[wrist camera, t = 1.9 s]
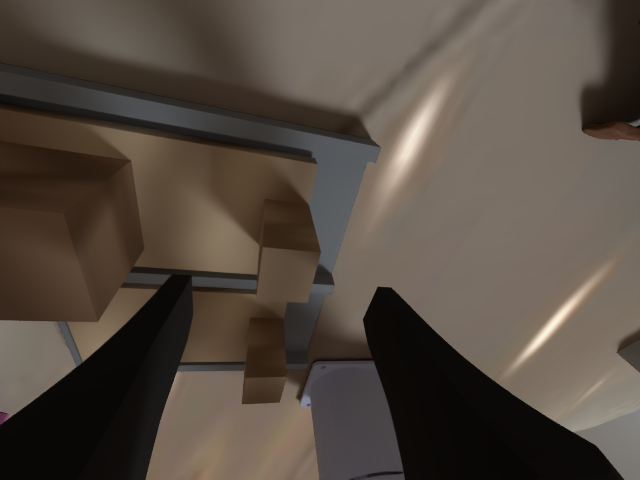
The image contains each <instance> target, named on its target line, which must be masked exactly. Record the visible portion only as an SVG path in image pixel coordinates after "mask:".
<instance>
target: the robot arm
mask: <svg viewBox="0 0 640 480" xmlns="http://www.w3.org/2000/svg"><path fill="white" fill-rule="evenodd" d="M192 318H193V293H192V275H179V274H172V275H171V276H170V277H169V278H168V279H167V280H166V281H165V282H164V284H163V285H162V286H161V287H160V288H159V289H158V290H157V291H156V293H155V294H154V295H153V296H152V297H151V298H150V299H149V300H148V301H147V302H146V303H145V304H144V305H143V306H142V307H141V308H140V309H139V310H138V312H137V313H136V314H135V315H134V316H133V317H132V318H131V319H130V320H129V321H128V322H127V323H126V324H125V325H123V326H122V327H121V328H120V329H119V330H118V331H117V332H116V333H115V334H114V335H113V336H112V337H111V338H109V339H108V340H107V341H106V342H105V343H104V344H103V345H102V346H101V347H100V348H98V349H97V350H96V351H95V352H94V353H93V354H92V355H90V356H89V357H88V358H87V359H86V360H85V361H83V362H82V363H81V364H80V365H79V366H77V367H76V368H75V369H74V370H72V371H71V372H70V373H69V374H67V375H66V376H65V377H64V378H62V379H61V380H60V381H59V382H57V383H56V384H55V385H53V386H52V387H51V388H49V389H48V390H47V391H45V392H44V393H43V394H41V395H40V396H39V397H38V398H36V399H35V400H34V401H32V402H31V403H30V404H28V405H27V406H26V407H24V408H23V409H21V410H20V411H19V412H17V413H16V414H14V415H13V416H12V417H10V418H9V419H7V420H6V421H5V422H3V423H2V424H0V480H145V479H146V475H147V471H148V467H149V463H150V459H151V455H152V451H153V447H154V443H155V439H156V435H157V431H158V427H159V423H160V420H161V417H162V413H163V410H164V407H165V404H166V401H167V398H168V395H169V393H170V390H171V387H172V384H173V381H174V378H175V376H176V373H177V370H178V367H179V364H180V361H181V358H182V356H183V353H184V350H185V347H186V344H187V340H188V336H189V332H190V328H191V323H192ZM363 322H364V328H365V333H366V338H367V342H368V346H369V349H370V352H371V355H372V358H373V361H317V362H314V363H313V365H312V368H311V371H310V374H309V376H308V379H307V382H306V385H305V388H304V391H303V393H302V396H301V399H300V406H301V407H311V411H312V420H313V429H314V437H315V446H316V454H317V463H318V472H319V480H624V479H623V478H622V476H621V475H620V474H619V473H618V472H617V470H616V469H615V468H614V467H613V465H612V464H611V463H610V462H609V460H608V459H607V458H606V457H605V456H604V454H603V453H602V452H601V451H600V450H599V448H598V447H597V446H596V445H594V444H592V443H591V442H589V441H587V440H585V439H584V438H582V437H580V436H579V435H577V434H575V433H573V432H572V431H570V430H568V429H566V428H565V427H563V426H561V425H560V424H558V423H556V422H554V421H553V420H551V419H549V418H548V417H546V416H545V415H543V414H542V413H540V412H539V411H537V410H535V409H534V408H532V407H531V406H529V405H528V404H526V403H525V402H523V401H522V400H520V399H519V398H517V397H516V396H514V395H513V394H511V393H510V392H509V391H507V390H506V389H504V388H503V387H502V386H500V385H499V384H497V383H496V382H495V381H493V380H492V379H491V378H489V377H488V376H487V375H485V374H484V373H483V372H481V371H480V370H479V369H478V368H476V367H475V366H474V365H473V364H471V363H470V362H469V361H468V360H467V359H465V358H464V357H463V356H462V355H461V354H459V353H458V352H457V351H456V350H455V349H454V348H453V347H452V346H450V345H449V344H448V343H447V342H446V341H445V340H444V339H443V338H442V337H441V336H439V335H438V334H437V333H436V332H435V331H434V330H433V329H432V328H431V327H430V326H429V325H428V324H427V323H426V322H425V321H424V320H423V319H422V318H421V317H420V316H419V315H418V314H417V313H416V312H415V311H414V310H413V309H412V308H411V307H410V306H409V305H408V304H407V303H406V302H405V301H404V300H403V299H402V298H401V297H400V296H399V295H398V294H397V293H396V292H395V291H394V290H393V289H392V288H390V287H378V288H377V290H376V292H375V294H374V296H373V299H372V301H371V303H370V305H369V307H368V310H367V312H366V314H365V316H364V318H363Z"/></svg>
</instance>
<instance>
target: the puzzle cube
mask: <svg viewBox="0 0 640 480" xmlns="http://www.w3.org/2000/svg"><path fill="white" fill-rule="evenodd" d="M617 353H618V354H619V355H620V356H621V357H622V358H623V359H625V360H626V361H627V362H628V363H629V364H630V365H631V366H633V367H634V368H635V369H636V370H637V371H638V372H640V339H639V340H637V341H635V342H634V343H632V344H630V345H629V346H627V347H625V348H623V349H622V350H620V351H618V352H617Z"/></svg>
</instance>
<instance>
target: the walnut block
mask: <svg viewBox="0 0 640 480" xmlns="http://www.w3.org/2000/svg"><path fill="white" fill-rule="evenodd" d="M143 251H144V243H143V236H142V230H141V223H140V216H139V209H138V203H137V196H136V189H135V183H134V176H133V169H132V162H131V161H130V160H123V159H117V158H110V157H104V156H97V155H90V154H84V153H77V152H70V151H64V150H57V149H50V148H44V147H37V146H31V145H24V144H17V143H11V142H4V141H0V320H19V321H65V322H98V321H99V319H100V318H101V316H102V315H103V313H104V312H105V310H106V308H107V307H108V305H109V304H110V302H111V301H112V299H113V298H114V296H115V294H116V293H117V291H118V290H119V288H120V287H121V285H122V283H123V282H124V280H125V279H126V277H127V276H128V274H129V272H130V271H131V269H132V268H133V266H134V265H135V263H136V261H137V260H138V258H139V257H140V255H141V254H142V252H143Z"/></svg>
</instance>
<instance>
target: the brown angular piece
mask: <svg viewBox="0 0 640 480" xmlns="http://www.w3.org/2000/svg"><path fill="white" fill-rule="evenodd" d="M0 141H4V142H11V143H17V144H24V145H31V146H37V147H44V148H50V149H57V150H64V151H70V152H77V153H84V154H90V155H97V156H104V157H110V158H117V159H123V160H130V161H131V162H132V169H133V176H134V183H135V189H136V196H137V203H138V209H139V216H140V223H141V230H142V236H143V243H144V251H143V252H142V254H141V255H140V257H139V258H138V260H137V261H136V263H135V265H134V266H136V267H151V268H166V269H181V270H196V271H211V272H225V273H240V274H255V275H257V289H256V300H257V301H280V302H302V303H307V302H308V298H309V295H310V291H311V287H312V284H313V280H314V277H315V273H316V269H317V266H318V262H319V258H320V255H321V250H320V246H319V242H318V238H317V234H316V230H315V227H314V223H313V219H312V215H311V211H310V207H309V202H310V198H311V193H312V189H313V184H314V180H315V175H316V171H317V166H318V163H317V161H316V159H315V158H312V157H306V156H301V155H295V154H289V153H284V152H278V151H273V150H267V149H262V148H256V147H250V146H245V145H239V144H234V143H228V142H222V141H217V140H211V139H206V138H200V137H194V136H189V135H183V134H178V133H172V132H166V131H161V130H155V129H150V128H144V127H139V126H133V125H127V124H122V123H116V122H111V121H105V120H99V119H94V118H88V117H83V116H77V115H71V114H66V113H60V112H55V111H49V110H44V109H38V108H32V107H27V106H21V105H16V104H10V103H4V102H0Z"/></svg>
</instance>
